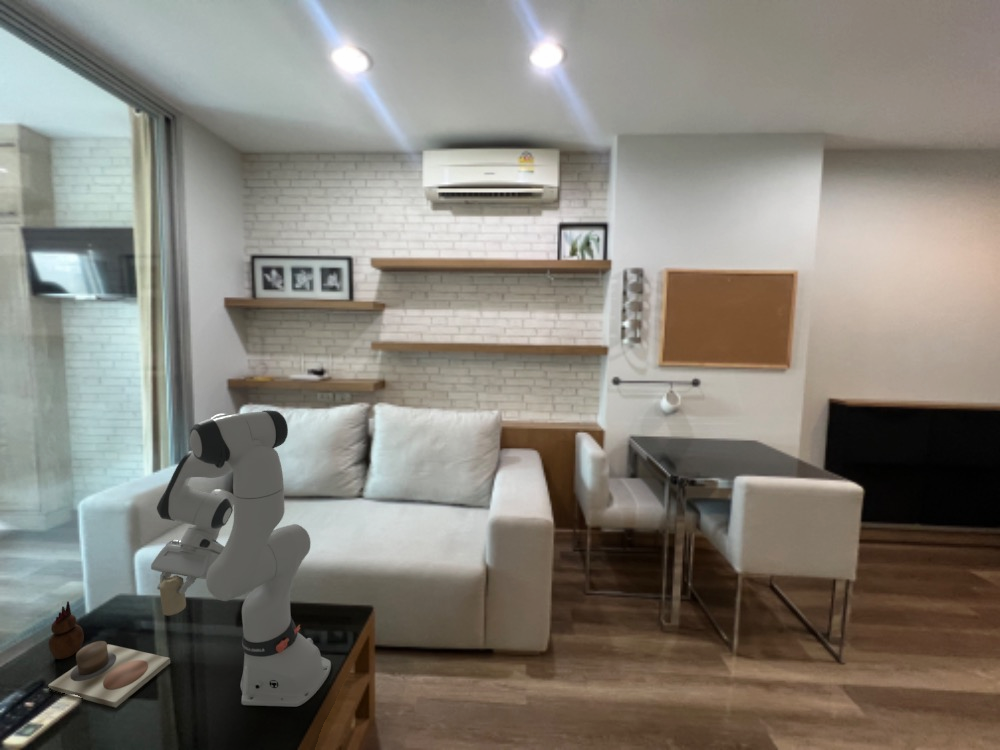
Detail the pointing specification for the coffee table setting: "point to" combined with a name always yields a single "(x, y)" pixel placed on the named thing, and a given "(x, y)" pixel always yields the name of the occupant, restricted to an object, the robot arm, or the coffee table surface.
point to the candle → (172, 595)
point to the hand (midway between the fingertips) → (170, 591)
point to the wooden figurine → (65, 635)
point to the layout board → (109, 673)
